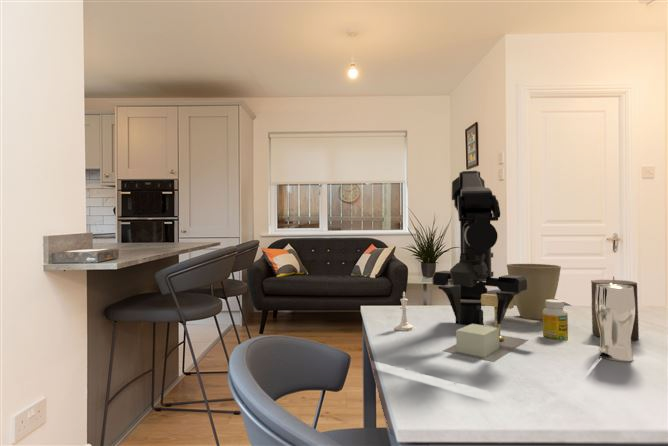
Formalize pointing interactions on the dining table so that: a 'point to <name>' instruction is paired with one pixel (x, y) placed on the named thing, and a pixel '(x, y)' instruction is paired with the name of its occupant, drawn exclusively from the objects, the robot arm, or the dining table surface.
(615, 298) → the silver metal tumbler
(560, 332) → the supplement bottle
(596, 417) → the dining table surface
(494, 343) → the cover
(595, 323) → the pillar candle
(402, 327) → the chess piece
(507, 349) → the base
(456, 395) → the dining table surface
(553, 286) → the plant pot
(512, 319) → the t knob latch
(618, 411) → the dining table surface
